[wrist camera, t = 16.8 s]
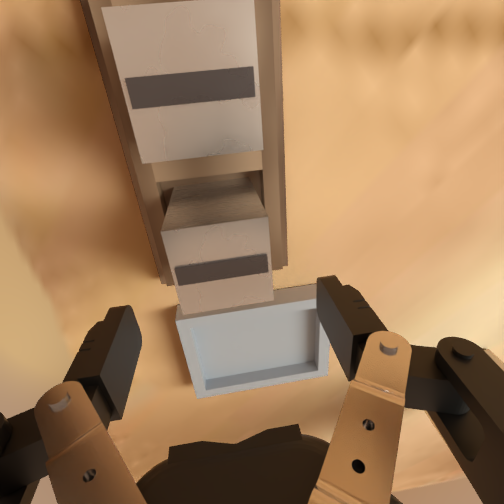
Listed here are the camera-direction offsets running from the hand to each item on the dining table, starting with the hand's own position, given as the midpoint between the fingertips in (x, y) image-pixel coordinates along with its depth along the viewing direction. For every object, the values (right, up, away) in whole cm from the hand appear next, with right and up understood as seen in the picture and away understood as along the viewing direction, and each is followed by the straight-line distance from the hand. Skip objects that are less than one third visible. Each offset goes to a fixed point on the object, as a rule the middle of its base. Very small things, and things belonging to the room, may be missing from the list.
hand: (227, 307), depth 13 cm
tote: (+2, -6, +16) cm, 17 cm away
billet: (-1, +5, +8) cm, 10 cm away
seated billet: (-2, +12, +4) cm, 13 cm away
